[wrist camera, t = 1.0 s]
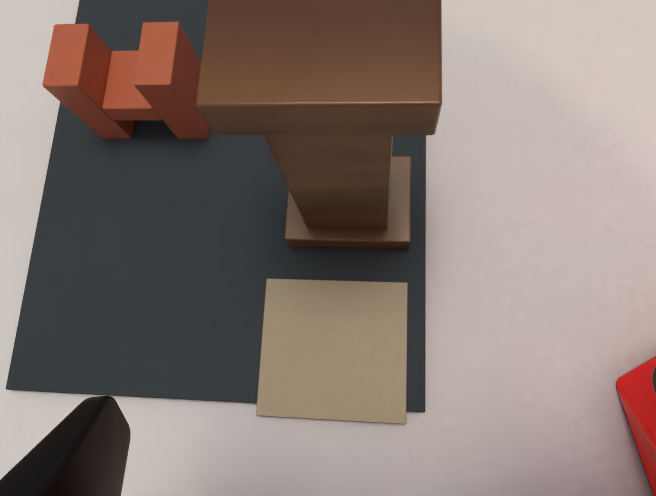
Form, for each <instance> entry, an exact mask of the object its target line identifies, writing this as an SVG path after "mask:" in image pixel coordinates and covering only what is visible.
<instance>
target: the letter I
mask: <svg viewBox="0 0 656 496" xmlns="http://www.w3.org/2000/svg"><path fill="white" fill-rule="evenodd" d="M441 105H442V26H441V0H209V1H208V10H207V18H206V26H205V35H204V43H203V51H202V60H201V68H200V76H199V85H198V93H197V101H196V106H197V108H198V110H199V111H200V113H201V114H202V116H203V117H204V119H205V120H206V122H207V123H208V125H209V126H210V128H211V129H212V131H213V132H214V134H216V135H264V137H265V139H266V141H267V143H268V145H269V147H270V150H271V152H272V154H273V156H274V158H275V160H276V162H277V165H278V167H279V169H280V171H281V173H282V175H283V177H284V179H285V182H286V184H287V186H288V192H287V207H286V221H285V235H284V239H285V241H286V242H287V244H288V245H289V247H291V248H332V249H376V250H409V246H410V242H411V156H392V142H393V135H433V134H435V132H436V127H437V123H438V119H439V114H440V110H441Z"/></svg>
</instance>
